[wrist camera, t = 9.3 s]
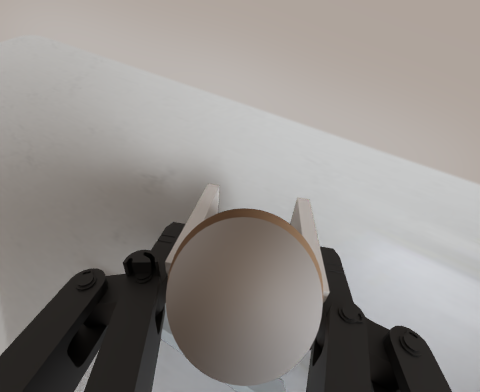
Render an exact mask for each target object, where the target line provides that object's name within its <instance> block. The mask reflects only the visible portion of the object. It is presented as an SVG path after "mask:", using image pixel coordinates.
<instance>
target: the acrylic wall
mask: <svg viewBox="0 0 480 392" xmlns="http://www.w3.org/2000/svg"><path fill="white" fill-rule="evenodd" d="M161 339H162V340H163V341H164V342H166V343H167V344H169V345H170V346H172V347H173V348H175V349H176V350H177V351H179V352H180V353H182V351H181V350H180V349H179V347H178V345H177V343H176V341H175V339H174V337H173V335H172V332H171V329H170V326H169V322H168V318H167V311H166V303H165V316H164V322H163V328H162V334H161ZM182 354H183V353H182ZM183 355H184V354H183ZM225 384H226V385H228V386H229V387H231V388H232V389H234V390H235V391H236V392H286V391H285V387H284V383H283V381H282V380H280V379H279V378H277V379H275V380H272V381H270V382H267V383H263V384H259V385H252V386H239V385H231V384H227V383H225Z"/></svg>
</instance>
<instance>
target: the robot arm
mask: <svg viewBox="0 0 480 392" xmlns="http://www.w3.org/2000/svg"><path fill="white" fill-rule="evenodd" d="M219 186H220V185H213V184H208V185H207V186H206V188H205V190H204V192H203V194H202V195H201V197H200V199H199V201H198V203H197V205H196V206H195V208H194V210H193V212H192V214H191V215H190V217H189V219H188V221H187V223H186V224H181V223H176V222H173V223H172V224H170V225H169V226H167V227H166V228H165V230H164V231H163V233H162V234H161V236H160V237H159V239H158V241H157V242H156V243H155V245H154V247H153V248H152V250H151V251H150V250H140V251H136V252H134V253H132V254H130V255H129V256H128V257H126V259H125V260H124V262H123V265H124V269H125V272H126V274H121V275H111V276H106V275H105V274H104V272H103V271H102V270H99V269H88V270H84V271H82V272H80V273H78V274H76V275H75V276H74V277H72V278H71V279H70V280H69V281H68V282H67V284H66V285H65V286H64V287H63V288H62V289H61V290H60V291H59V292H58V293H57V294H56V296H55V297H54V298H53V299H52V300H51V301H50V302H49V303H48V304H47V305H46V306H45V308H44V309H43V310H42V311H41V312H40V313H39V314H38V315H37V316H36V317H35V318H34V320H33V321H32V322H31V323H30V324H29V325H28V326H27V327H26V328H25V329H24V330H23V332H22V333H21V334H20V335H19V336H18V337H17V338H16V339H15V340H14V341H13V343H12V344H11V345H10V346H9V347H8V348H7V349H6V350H5V351H4V352H3V353H2V355H1V356H0V392H74V391H75V389H76V387H77V386H78V384H79V382H80V381H81V379H82V377H83V376H84V374H85V372H86V371H87V369H88V367H89V366H90V364H91V362H92V361H93V359H94V357H95V355H96V354H97V352H98V350H99V349H100V350H99V352H98V355H97V358H96V360H95V363H94V366H93V369H92V371H91V374H90V377H89V379H88V382H87V385H86V388H85V390H84V392H152V386H153V380H154V374H155V368H156V363H157V357H158V351H159V345H160V339H161V334H162V328H163V322H164V316H165V303H166V290H167V281H168V274H169V270H170V266H171V263H172V260H173V258H174V255H175V253H176V251H177V249H178V248H179V246H180V244H181V243H182V241H183V240H184V239H185V237H186V236H187V235H188V234H189V233H190V232H191V231H192V230H193V229H194V228H195V227H196V226H197V225H198V224H200V223H201V222H203V221H204V220H206V219H207V218H209V217H211V216H213V215H215V214H218V204H219ZM290 225H292V226H293V227H294V228H295V229H296V230H297V231H298V232H299V233H300V234H301V235H302V236H303V237H304V238H305V240H306V241H307V242H308V244H309V245H310V247H311V249H312V251H313V252H314V254H315V256H316V259H317V261H318V264H319V267H320V271H321V274H322V281H323V307H322V317H321V322H320V326H319V329H318V332H317V335H316V337H315V340H314V342H313V344H312V345H311V347H310V349H309V350H311V349H312V350H311V357H310V365H309V373H308V381H307V388H306V392H452V391H451V389H450V387H449V385H448V383H447V381H446V379H445V377H444V375H443V373H442V371H441V369H440V367H439V365H438V363H437V361H436V359H435V357H434V356H433V354H432V352H431V350H430V348H429V346H428V345H427V343H426V342H425V341H424V340H423V339H422V338H421V337H420V336H419V335H418V334H417V333H415V332H414V331H412V330H411V329H409V328H406V327H404V326H395V327H393V328H391V330H389V329H387V328H385V327H383V326H381V325H378V324H376V323H374V322H372V321H371V320H369V319H367V318H366V317H365V315H364V314H363V312H362V311H361V309H360V308H359V307H358V306H356V305H355V304H354V302H353V299H352V296H351V293H350V290H349V286H348V283H347V280H346V276H345V274H344V270H343V267H342V263H341V260H340V257H339V256H338V254H337V253H336V252H335V250H334V249H331V248H326V247H320V245H319V241H318V236H317V231H316V227H315V222H314V218H313V213H312V209H311V204H310V200H309V199H303V198H297V201H296V204H295V208H294V212H293V215H292V219H291V222H290Z"/></svg>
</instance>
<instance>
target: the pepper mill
mask: <svg viewBox="0 0 480 392" xmlns="http://www.w3.org/2000/svg"><path fill="white" fill-rule="evenodd" d="M322 307H323V281H322V274H321V271H320V267H319V264H318V261H317V259H316V256H315V254H314V252H313V251H312V249H311V247H310V245H309V244H308V242H307V241H306V240H305V238H304V237H303V236H302V235H301V234H300V233H299V232H298V231H297V230H296V229H295V228H294V227H293V226H292V225H290V224H289V223H288V222H286V221H285V220H283V219H281V218H280V217H278V216H275V215H273V214H271V213H268V212H265V211H261V210H256V209H233V210H228V211H224V212H221V213H218V214H215V215H213V216H211V217H209V218H207V219H206V220H204V221H203V222H201V223H200V224H198V225H197V226H196V227H195V228H194V229H193V230H192V231H191V232H190V233H189V234H188V235H187V236H186V237H185V239H184V240H183V241H182V243H181V244H180V246H179V248H178V249H177V251H176V253H175V255H174V258H173V260H172V263H171V266H170V270H169V274H168V281H167V290H166V311H167V318H168V322H169V326H170V329H171V332H172V335H173V337H174V339H175V341H176V343H177V345H178V347H179V349H180V350H181V351H182V353H183V354H184V355H185V357H186V358H187V359H188V360H189V361H190V362H191V363H192V364H193V365H194V366H195V367H196V368H197V369H199V370H200V371H201V372H202V373H204V374H206V375H207V376H209V377H211V378H213V379H215V380H218V381H220V382H223V383H227V384H231V385H239V386H252V385H259V384H263V383H267V382H270V381H272V380H275V379H277V378H279V377H281V376H282V375H284V374H286V373H287V372H289V371H290V370H291V369H292V368H294V367H295V366H296V365H297V364H298V363H299V362H300V361H301V360H302V359H303V357H304V356H305V355H306V353H307V352H308V351H309V349H310V347H311V345H312V344H313V342H314V340H315V337H316V335H317V332H318V329H319V326H320V322H321V317H322Z"/></svg>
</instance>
